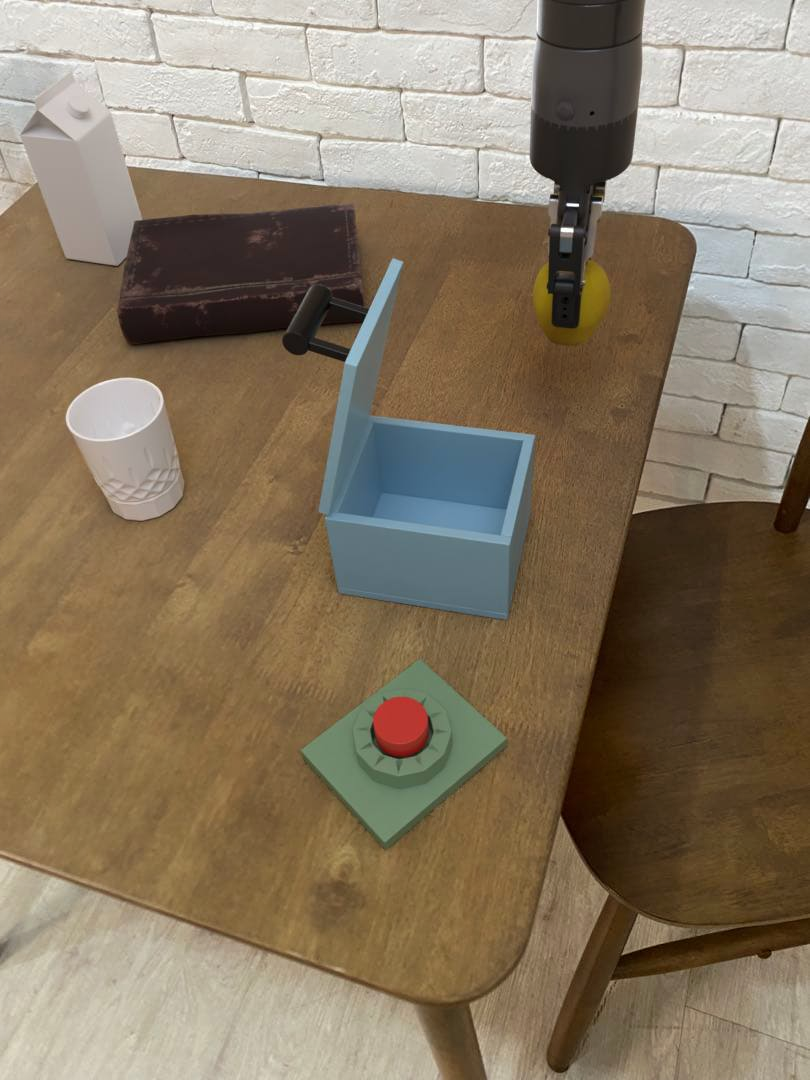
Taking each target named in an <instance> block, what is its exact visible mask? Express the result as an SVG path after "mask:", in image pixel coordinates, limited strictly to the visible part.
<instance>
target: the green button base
mask: <svg viewBox="0 0 810 1080" xmlns="http://www.w3.org/2000/svg"><path fill="white" fill-rule="evenodd" d="M394 697H409V698H412V699H414V700H416V701H418V702H419V703H420V704H421V705H422V706H423V707H424V708H425V710H426V713H427V716H428V727H429V736H428V740H427V742H426V744H425V746H424V747H423V748H422V749H421V750H420V751H419V752H417V753H415V754H413V755H411V756H407V757H395V756H392V755H389V754H387V753H386V752H384V751H383V750H382V749H381V748H380V747H379V745H378V743H377V741H376V737H375V731H374V725H373V718H374V714H375V712H376V710H377V709H378V707H379V706H380V705H381V704H382V703H384V702H385V701H387V700H389V699H391V698H394ZM507 746H508V738H507V736H506V735H505V734H504V733H502V732H501V731H500V730H499V729H498V728H497V727H496V726H494V724H493V723H491V721H489V720H488V719H487V718H486V717H485V716H484V715H483V714H481V712H479V710H477V709H476V708H475V707H474V706H473V705H472V704H471V703H469V702H468V701H467V699H465V698H464V697H463V696H462V695H461V694H459V693H458V692H457V691H456V690H455V689H454V688H453V687H452V686H451V685H450V684H449V683H447V682H446V680H444V679H443V678H442V677H441V676H440V675H438V674H437V673H436V672H435V671H434V670H433V669H432V668H431V667H430V666H429V665H428V664H427V663H425V661H423V660H422V659H421V658H419V659H417V660H416V661H415V662H413V663H412V664H411V665H409V666H408V667H407V668H405V669H404V670H403V671H401V672H400V673H399V674H398V675H397V676H395V677H394V678H393V679H391V680H390V681H388V682H387V683H386V684H385V685H382V687H381V688H379V689H378V690H377V691H376V692H374V693H373V694H371V695H370V696H369V697H368V698H366V699H365V700H363V702H361V703H360V704H359V705H357V706H356V707H354V708H353V709H352V710H350V711H349V712H348V713H347V714H346V715H344V716H342V718H340V719H339V720H337V721H336V722H335V723H334V724H332V725H331V726H330V727H328V728H327V729H326V730H324V731H323V732H322V733H321V734H319V735H318V736H316V737H315V738H314V739H313V740H311V741H310V742H309V743H308V744H307V745H304V747H302V748H301V749H300V753H301V757H302V759H303V761H305V763H306V764H307V765H308V766H309V767H310V768H311V769H312V771H313V772H314V773H315V774H316V775H317V776H318V777H319V778H320V780H322V781H323V783H324V784H325V785H326V787H328V788H329V789H330V791H331V792H332V793H333V794H334V795H335V796H336V797H337V798H338V799H339V801H341V802H342V804H343V805H344V806H345V807H346V808H347V809H348V811H349V812H351V814H352V815H353V816H354V817H355V818H356V819H357V820H358V822H359V823H360V824H361V825H362V826H363V827H364V828H365V829H366V830H367V831H368V832H369V834H371V836H372V837H373V838H374V839H375V841H377V842H378V843H379V845H380V846H381V847H382V848H383V850H385V851H387V850H388V849H389V848H390V847H392V846H393V845H394V844H395V843H396V842H398V840H400V839H401V838H402V837H403V836H404V835H406V834H407V833H408V832H409V831H410V830H411V829H412V828H414V827H415V826H416V825H417V824H419V823H420V822H421V821H422V820H423V819H424V818H425V817H427V816H428V815H429V814H430V813H431V812H432V811H433V810H435V809H436V808H437V807H438V806H440V805H441V804H442V803H443V802H444V801H445V800H446V799H448V798H449V797H450V796H451V795H452V794H453V793H454V792H455V791H457V790H458V789H459V788H460V787H461V786H462V785H464V784H465V783H466V782H467V781H468V780H469V779H471V778H472V777H473V776H474V775H475V774H476V773H478V772H479V771H480V770H482V769H483V768H484V767H485V766H486V765H487V764H488V763H489V762H490V761H492V760H493V759H494V758H495V757H497V755H499V754H500V753H501V752H502V751H503V750H505V749H506V748H507Z"/></svg>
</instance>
